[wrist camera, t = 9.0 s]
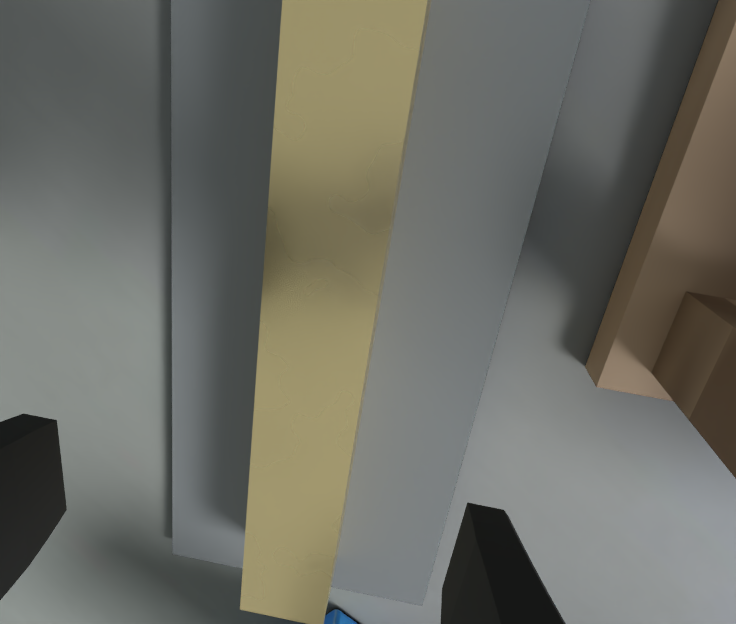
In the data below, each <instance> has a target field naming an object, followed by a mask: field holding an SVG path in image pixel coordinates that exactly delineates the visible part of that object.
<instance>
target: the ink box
mask: <svg viewBox="0 0 736 624" xmlns="http://www.w3.org/2000/svg"><path fill="white" fill-rule="evenodd" d="M324 624H358V623H356V622H355V621H353V620H352V619H351V618H350V617H348V616H346V615H345V614H344V613H343V612H341V611H340V610H337V609H335V610H333V611H331V612H330V613H328V614H327V615H326V616H325V620H324Z"/></svg>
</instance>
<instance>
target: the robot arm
mask: <svg viewBox="0 0 736 624" xmlns="http://www.w3.org/2000/svg"><path fill="white" fill-rule="evenodd" d="M66 510H67V509H66V500H65V491H64V482H63V473H62V463H61V454H60V445H59V436H58V427H57V420H53V419H48V418H43V417H38V416H33V415H28V414H21V415H19V416H16V417H13V418H10V419H7V420H5V421H2V422H0V600H1V599H2V597H3V596H4V595H5V594H6V593H7V592H8V590H9V589H10V588H11V587H12V586H13V584H14V583H15V582H16V581H17V580H18V578H19V577H20V576H21V575H22V574H23V572H24V571H25V570H26V569H27V567H28V566H29V565H30V564H31V562H32V561H33V559H34V558H35V556H36V555H37V554H38V552H39V551H40V549H41V548H42V546H43V545H44V543H45V542H46V541H47V539H48V538H49V536H50V534H51V533H52V531H53V530H54V528H55V527H56V525H57V524H58V522H59V521H60V519H61V518H62V516H63V514H64V513H65V511H66ZM441 624H565V622H564V620H563V618H562V617H561V615H560V613H559V611H558V610H557V608H556V606H555V604H554V603H553V601H552V599H551V597H550V595H549V594H548V592H547V590H546V588H545V586H544V584H543V583H542V581H541V579H540V577H539V575H538V573H537V571H536V569H535V568H534V566H533V564H532V562H531V560H530V558H529V556H528V554H527V552H526V550H525V548H524V546H523V544H522V543H521V541H520V539H519V537H518V535H517V533H516V531H515V529H514V527H513V525H512V523H511V521H510V519H509V517H508V515H507V514H506V512H505V511H504V510H501V509H497V508H492V507H487V506H482V505H477V504H472V503H467V506H466V510H465V513H464V516H463V520H462V523H461V526H460V530H459V533H458V537H457V540H456V543H455V547H454V550H453V554H452V557H451V560H450V564H449V567H448V570H447V574H446V577H445V581H444V584H443V587H442V607H441Z"/></svg>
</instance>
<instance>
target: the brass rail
mask: <svg viewBox="0 0 736 624" xmlns="http://www.w3.org/2000/svg"><path fill="white" fill-rule="evenodd" d="M431 1H432V0H282V11H281V26H280V40H279V54H278V69H277V83H276V98H275V112H274V126H273V141H272V155H271V170H270V184H269V198H268V213H267V227H266V241H265V256H264V270H263V285H262V299H261V313H260V328H259V342H258V357H257V371H256V385H255V400H254V414H253V428H252V443H251V457H250V472H249V486H248V500H247V515H246V529H245V543H244V558H243V572H242V587H241V601H240V610H244V611H249V612H254V613H259V614H263V615H268V616H273V617H278V618H283V619H287V620H292V621H297V622H302V623H306V624H324V620H325V615H326V610H327V605H328V600H329V595H330V590H331V585H332V580H333V575H334V570H335V565H336V560H337V555H338V549H339V543H340V537H341V532H342V526H343V520H344V514H345V508H346V502H347V496H348V490H349V484H350V478H351V473H352V467H353V461H354V455H355V449H356V443H357V437H358V431H359V425H360V420H361V414H362V408H363V402H364V396H365V390H366V384H367V378H368V372H369V366H370V361H371V355H372V349H373V343H374V337H375V331H376V325H377V319H378V313H379V307H380V302H381V296H382V290H383V284H384V278H385V272H386V266H387V260H388V254H389V248H390V243H391V237H392V231H393V225H394V219H395V213H396V207H397V201H398V195H399V189H400V184H401V178H402V172H403V166H404V160H405V154H406V148H407V142H408V136H409V130H410V125H411V119H412V113H413V107H414V101H415V95H416V89H417V83H418V77H419V72H420V66H421V60H422V54H423V48H424V42H425V36H426V30H427V24H428V18H429V13H430V7H431Z"/></svg>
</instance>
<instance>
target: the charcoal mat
mask: <svg viewBox="0 0 736 624" xmlns="http://www.w3.org/2000/svg"><path fill="white" fill-rule="evenodd" d="M590 2H591V0H432V1H431V7H430V13H429V18H428V24H427V30H426V36H425V42H424V48H423V54H422V60H421V66H420V72H419V77H418V83H417V89H416V95H415V101H414V107H413V113H412V119H411V125H410V130H409V136H408V142H407V148H406V154H405V160H404V166H403V172H402V178H401V184H400V189H399V195H398V201H397V207H396V213H395V219H394V225H393V231H392V237H391V243H390V248H389V254H388V260H387V266H386V272H385V278H384V284H383V290H382V296H381V302H380V307H379V313H378V319H377V325H376V331H375V337H374V343H373V349H372V355H371V361H370V366H369V372H368V378H367V384H366V390H365V396H364V402H363V408H362V414H361V420H360V425H359V431H358V437H357V443H356V449H355V455H354V461H353V467H352V473H351V478H350V484H349V490H348V496H347V502H346V508H345V514H344V520H343V526H342V532H341V537H340V543H339V549H338V555H337V560H336V565H335V570H334V575H333V580H332V585H331V587H334V588H338V589H343V590H348V591H353V592H358V593H362V594H367V595H372V596H377V597H382V598H387V599H391V600H396V601H401V602H406V603H411V604H415V605H420V606H422V605H423V601H424V598H425V594H426V591H427V587H428V583H429V580H430V576H431V573H432V569H433V565H434V562H435V558H436V555H437V551H438V547H439V544H440V540H441V537H442V533H443V530H444V526H445V522H446V519H447V515H448V512H449V508H450V504H451V501H452V497H453V494H454V490H455V486H456V483H457V479H458V476H459V472H460V468H461V465H462V461H463V458H464V454H465V451H466V447H467V443H468V440H469V436H470V433H471V429H472V425H473V422H474V418H475V415H476V411H477V407H478V404H479V400H480V397H481V393H482V390H483V386H484V382H485V379H486V375H487V372H488V368H489V364H490V361H491V357H492V354H493V350H494V346H495V343H496V339H497V336H498V332H499V328H500V325H501V321H502V318H503V314H504V311H505V307H506V303H507V300H508V296H509V293H510V289H511V285H512V282H513V278H514V275H515V271H516V267H517V264H518V260H519V257H520V253H521V249H522V246H523V242H524V239H525V235H526V232H527V228H528V224H529V221H530V217H531V214H532V210H533V206H534V203H535V199H536V196H537V192H538V188H539V185H540V181H541V178H542V174H543V170H544V167H545V163H546V160H547V156H548V153H549V149H550V145H551V142H552V138H553V135H554V131H555V127H556V124H557V120H558V117H559V113H560V109H561V106H562V102H563V99H564V95H565V91H566V88H567V84H568V81H569V77H570V74H571V70H572V66H573V63H574V59H575V56H576V52H577V48H578V45H579V41H580V38H581V34H582V30H583V27H584V23H585V20H586V16H587V13H588V9H589V5H590ZM281 11H282V0H171V208H172V541H173V554H175V555H179V556H184V557H189V558H194V559H199V560H203V561H208V562H213V563H218V564H223V565H228V566H232V567H237V568H242V569H243V558H244V543H245V529H246V515H247V500H248V486H249V472H250V457H251V443H252V428H253V414H254V400H255V385H256V371H257V357H258V342H259V328H260V313H261V299H262V285H263V270H264V256H265V241H266V227H267V213H268V198H269V184H270V170H271V155H272V141H273V126H274V112H275V98H276V83H277V69H278V54H279V40H280V26H281Z"/></svg>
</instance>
